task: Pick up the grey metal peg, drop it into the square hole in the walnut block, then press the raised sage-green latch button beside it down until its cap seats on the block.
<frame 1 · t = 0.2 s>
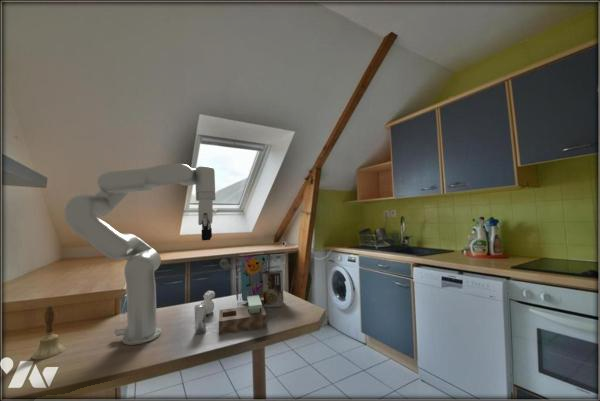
hand: (207, 238, 107), 36 cm above the table, tool pointing down, fingers open, 9 cm apart
coffee box: (273, 305, 129), on the table
bust: (207, 313, 121), on the table
latch button: (254, 307, 109), point 6 cm above the table, slide at 0.0 cm
box: (246, 303, 133), on the table
hand bell: (49, 353, 91), on the table
socket block: (242, 324, 108), on the table
peg: (200, 331, 103), on the table
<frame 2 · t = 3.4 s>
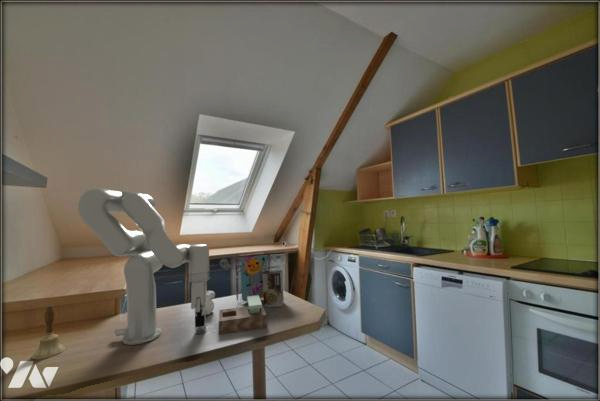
hand: (200, 323, 103), 3 cm above the table, tool pointing down, fingers closed on peg, 4 cm apart
peg: (200, 331, 103), on the table, touching gripper
everything else where it was.
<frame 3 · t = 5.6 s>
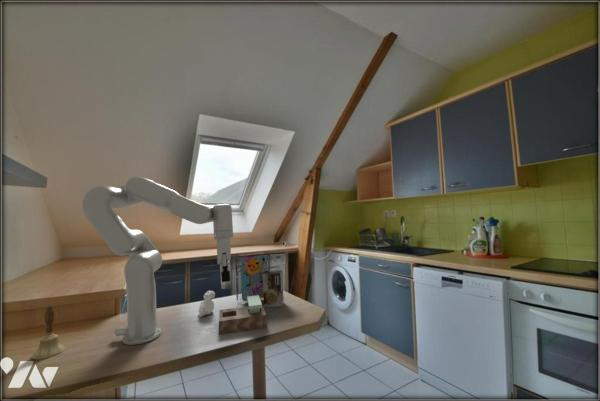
hand: (226, 279, 107), 19 cm above the table, tool pointing down, fingers closed on peg, 4 cm apart
peg: (226, 287, 107), point 16 cm above the table, touching gripper
everything else where it was.
when the fingers open (6 cm above the table, at t = 8.3 s): peg drops 3 cm, resting in socket block.
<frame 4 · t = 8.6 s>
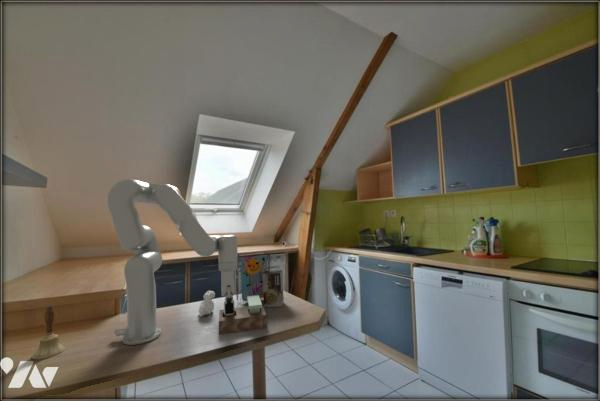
hand: (229, 309, 107), 7 cm above the table, tool pointing down, fingers open, 6 cm apart
peg: (229, 326, 106), resting in socket block
everything else where it was.
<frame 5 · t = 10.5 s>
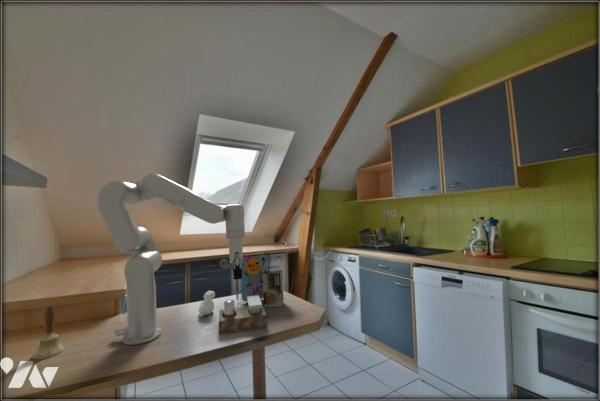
hand: (237, 276, 108), 20 cm above the table, tool pointing down, fingers open, 9 cm apart
nothing on the table moved.
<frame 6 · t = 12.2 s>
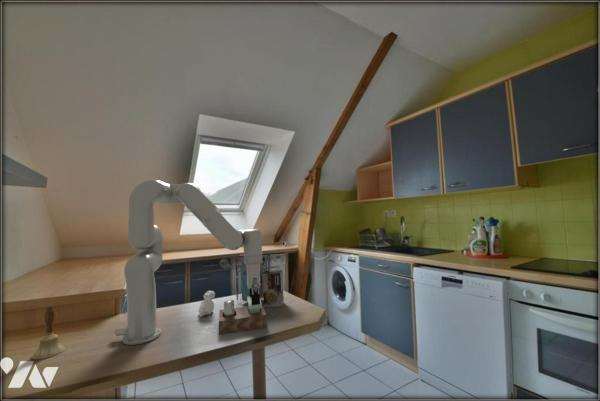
hand: (254, 300, 109), 9 cm above the table, tool pointing down
latch button: (254, 307, 109), point 6 cm above the table, slide at 0.1 cm, touching gripper
everything else where it was.
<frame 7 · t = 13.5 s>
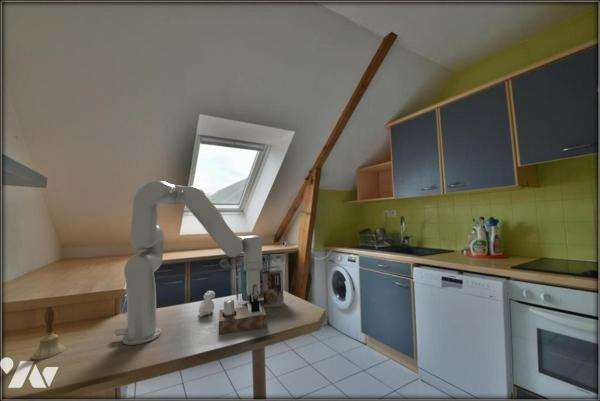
hand: (254, 307, 109), 6 cm above the table, tool pointing down, fingers open, 9 cm apart
latch button: (254, 314, 109), point 4 cm above the table, slide at 2.8 cm
everything else where it was.
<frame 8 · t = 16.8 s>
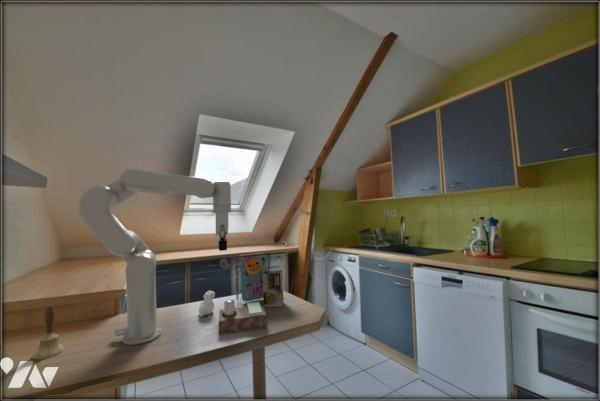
hand: (223, 248, 115), 30 cm above the table, tool pointing down, fingers open, 9 cm apart
nothing on the table moved.
at the end: peg 0.0 cm from the target spot on the socket block, point 0.0 cm above the socket block's base; peg tilted 1°; latch button slide at 2.8 cm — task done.
